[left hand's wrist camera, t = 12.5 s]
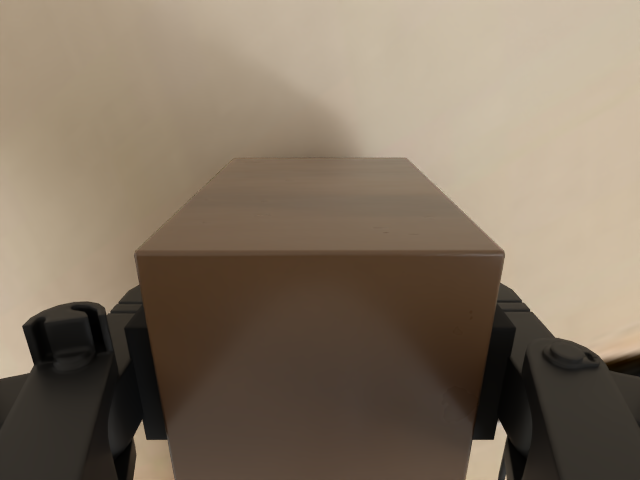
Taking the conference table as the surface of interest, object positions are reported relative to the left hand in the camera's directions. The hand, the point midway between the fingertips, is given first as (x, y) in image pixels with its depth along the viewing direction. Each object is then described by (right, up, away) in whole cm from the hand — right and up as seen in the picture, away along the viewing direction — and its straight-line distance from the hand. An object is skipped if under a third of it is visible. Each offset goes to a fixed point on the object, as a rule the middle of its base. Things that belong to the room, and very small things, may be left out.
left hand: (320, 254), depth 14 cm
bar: (0, -8, +4) cm, 9 cm away
